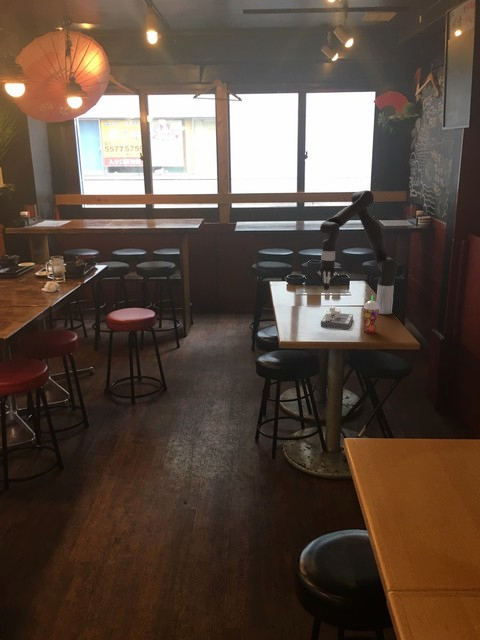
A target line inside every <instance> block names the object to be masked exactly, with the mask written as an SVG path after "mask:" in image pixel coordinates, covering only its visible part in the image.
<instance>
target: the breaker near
mask: <svg viewBox="0 0 480 640" xmlns="http://www.w3.org/2000/svg"><path fill="white" fill-rule="evenodd" d="M325 315H326V320H325V321H330V320H331V315H332V312H330V310H329V311H327V312H326V313H325Z"/></svg>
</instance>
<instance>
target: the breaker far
mask: <svg viewBox="0 0 480 640" xmlns="http://www.w3.org/2000/svg"><path fill="white" fill-rule="evenodd" d="M335 311H336V306H335V305H331V306H330V307H329V312H332V315H334V314H335Z"/></svg>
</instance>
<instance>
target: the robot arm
mask: <svg viewBox="0 0 480 640" xmlns="http://www.w3.org/2000/svg"><path fill="white" fill-rule="evenodd" d="M374 200H375V199H374V194H373V192H372V191H370V190H368V189H367V190H361V191H356V192H354V193H353V194H352V195H351V204H349V205H348V206H345V207H344V208H343V209H340V211H338V212H337V213H336V214H335V215H333V216H331V217H330V218H328V219H326V220H324V221H323V222H322V223H321V225H320V227H319V230H320V233H321V234H323V235H325V236H328V239H324V240H323V241H322V247H321V248H322V249H321V254H320V258H321V259H320V269H319V271H317V272H315V275H316V276H317V278H318V279H319V281H320V282H321V283H323V289H324V290H325V291H329V290H330V284H331V283H333V282H334V281H335V280H336V278H338V277H339V275H340V274H339V273H337V271H336V269H335V268H336V265H335V264H336V243H337V241H338V236H339V234H340V228H341V227H343V226H344V225H345V224H346V223H348V222H349V221H350V220H351V219H352V218H354V217H355V216H356V215H357V216H358V218H359V220H360V222H361V225H362V227H363V229H364V232H365V235H366V238H367V240H368V242H369V244H370V247H371V250H372V251H373V254H374V258H375V261H376V262H375V263H376V266H377V268H378V270H379V271H380V272H381V274H380V278H379V279H378V280H377V291H376V300H375V302H377V303H378V305H379V307H380V308H379V314H381V315H392V311H393V310H392V309H393V301H394V288H395V287H394V286H395V281H396V279H397V272H398V263H397V261H396V260H395V259H393V258H391V257H390V255H389V253H388V252H387V249H386V244H385V242H386V241H385V233H384V231H383V229H382V226H381V224H380V223H379V221H378V220H376V219H375V217H373V216H372V215H371V214H370V213H369V210H368V209H367V208H368V207H370V206H372V204H373V202H374ZM332 276H333V277H332ZM331 278H332V279H331Z"/></svg>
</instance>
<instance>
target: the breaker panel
mask: <svg viewBox="0 0 480 640" xmlns="http://www.w3.org/2000/svg"><path fill="white" fill-rule="evenodd" d="M325 320H326V314H324V316H323V318H322V319H321V320H320V327H321V328H323V327H324V328H330V329H331V328H332V329H333V328H335V329H343V330H349V328H350V326H351V324H352V323H353V320H354V314H353V313H351V314H350V313H341V312H340V318H339V319H337V318H335V314H334V315H331V320H330V321H325Z"/></svg>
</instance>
